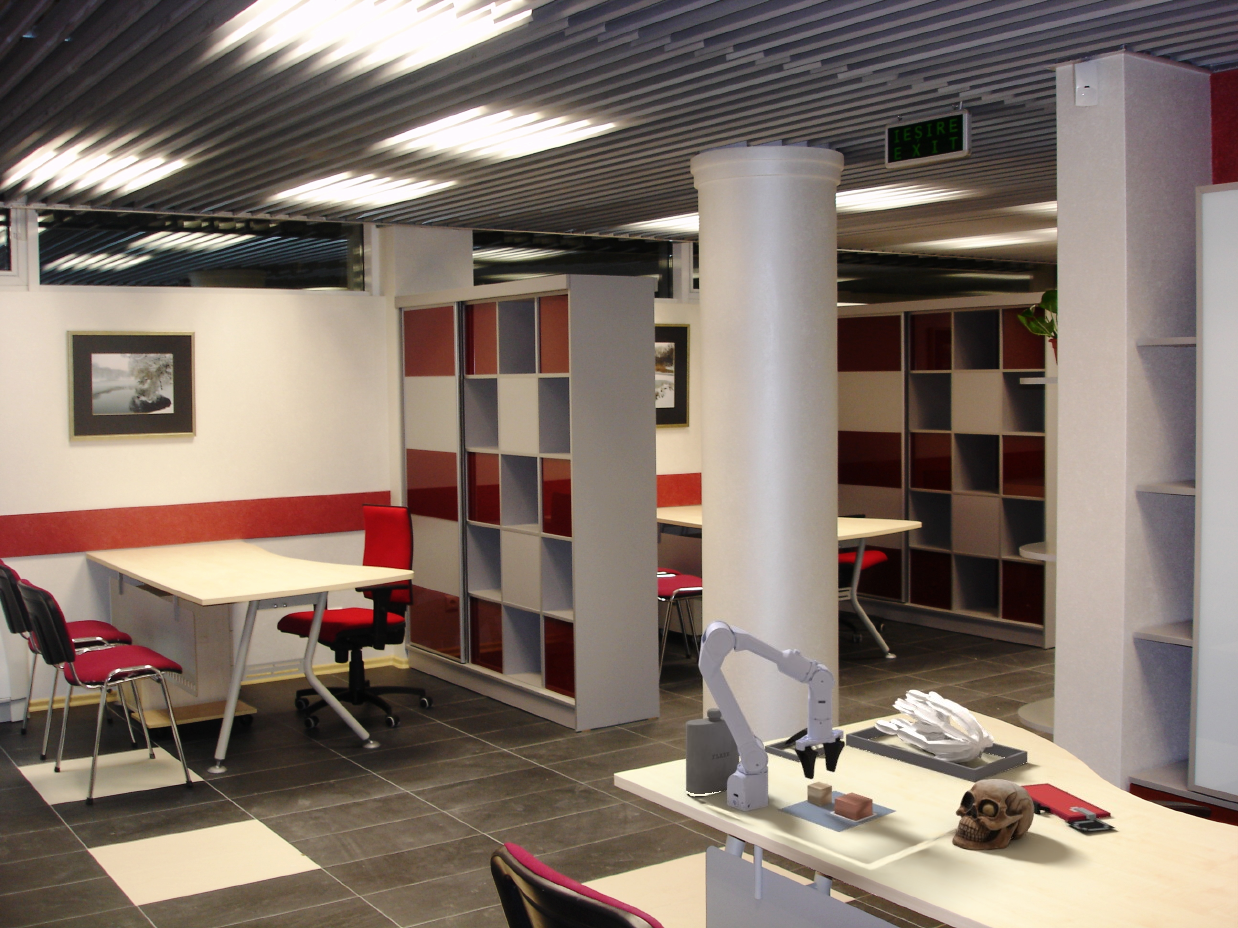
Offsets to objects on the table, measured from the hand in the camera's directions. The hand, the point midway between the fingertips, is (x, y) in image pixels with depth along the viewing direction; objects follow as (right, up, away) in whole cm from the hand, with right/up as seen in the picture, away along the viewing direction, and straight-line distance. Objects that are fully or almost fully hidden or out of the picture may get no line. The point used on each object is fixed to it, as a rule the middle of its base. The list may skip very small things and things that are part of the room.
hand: (819, 774), depth 272 cm
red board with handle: (+55, -8, -2) cm, 56 cm away
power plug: (+2, -6, +45) cm, 45 cm away
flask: (-24, -7, +12) cm, 28 cm away
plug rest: (+3, -5, +44) cm, 44 cm away
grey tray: (+37, -5, +40) cm, 55 cm away
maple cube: (0, -7, 0) cm, 7 cm away
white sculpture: (+38, -5, +40) cm, 55 cm away
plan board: (+3, -8, -5) cm, 10 cm away
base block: (+6, -7, -7) cm, 12 cm away
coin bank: (+34, -9, -20) cm, 40 cm away
